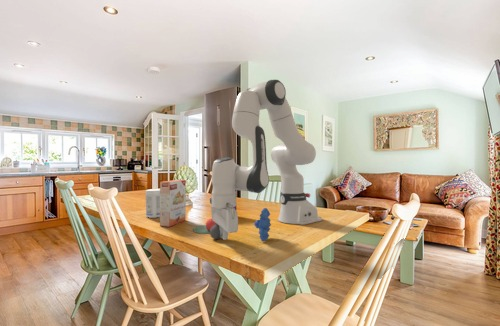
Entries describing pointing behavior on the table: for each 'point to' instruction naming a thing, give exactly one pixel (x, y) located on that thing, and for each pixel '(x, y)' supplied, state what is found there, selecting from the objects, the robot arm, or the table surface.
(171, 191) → the cracker box
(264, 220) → the grapes
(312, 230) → the table surface
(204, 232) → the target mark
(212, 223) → the ball
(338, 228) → the table surface
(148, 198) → the supplement tub
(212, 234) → the ball
